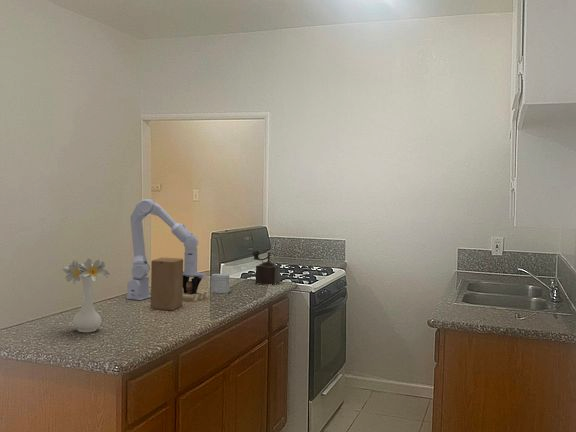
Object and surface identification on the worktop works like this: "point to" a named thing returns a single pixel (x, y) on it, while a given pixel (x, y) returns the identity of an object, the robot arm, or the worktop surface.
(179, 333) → the worktop surface
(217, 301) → the worktop surface
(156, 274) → the wooden block
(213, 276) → the medicine box
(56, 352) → the worktop surface
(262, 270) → the coffee grinder
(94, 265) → the flower vase
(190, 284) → the peg
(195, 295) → the board
